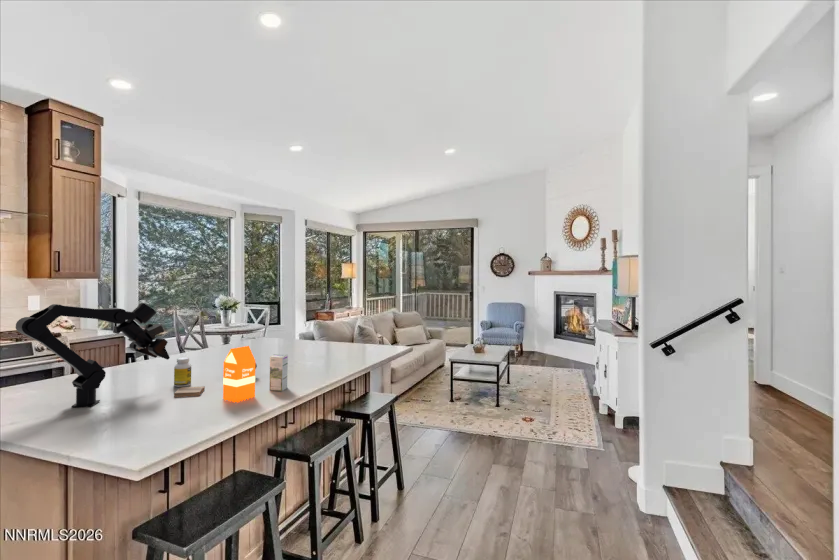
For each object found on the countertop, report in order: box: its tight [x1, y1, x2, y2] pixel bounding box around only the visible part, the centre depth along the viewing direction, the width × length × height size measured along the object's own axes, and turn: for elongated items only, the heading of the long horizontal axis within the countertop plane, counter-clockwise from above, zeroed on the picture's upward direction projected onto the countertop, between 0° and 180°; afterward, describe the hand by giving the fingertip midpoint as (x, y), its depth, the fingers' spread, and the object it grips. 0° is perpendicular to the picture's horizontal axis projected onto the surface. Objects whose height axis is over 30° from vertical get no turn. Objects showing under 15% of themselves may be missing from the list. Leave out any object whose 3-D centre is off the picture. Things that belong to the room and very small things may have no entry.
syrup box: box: [269, 353, 289, 392], centre depth 182 cm, size 6×6×14 cm
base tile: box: [173, 385, 205, 398], centre depth 173 cm, size 9×9×2 cm
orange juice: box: [222, 345, 256, 403], centre depth 168 cm, size 8×9×20 cm
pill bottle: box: [173, 357, 192, 388], centre depth 185 cm, size 6×6×12 cm
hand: (162, 357), depth 178 cm, fingers open, 9 cm apart
